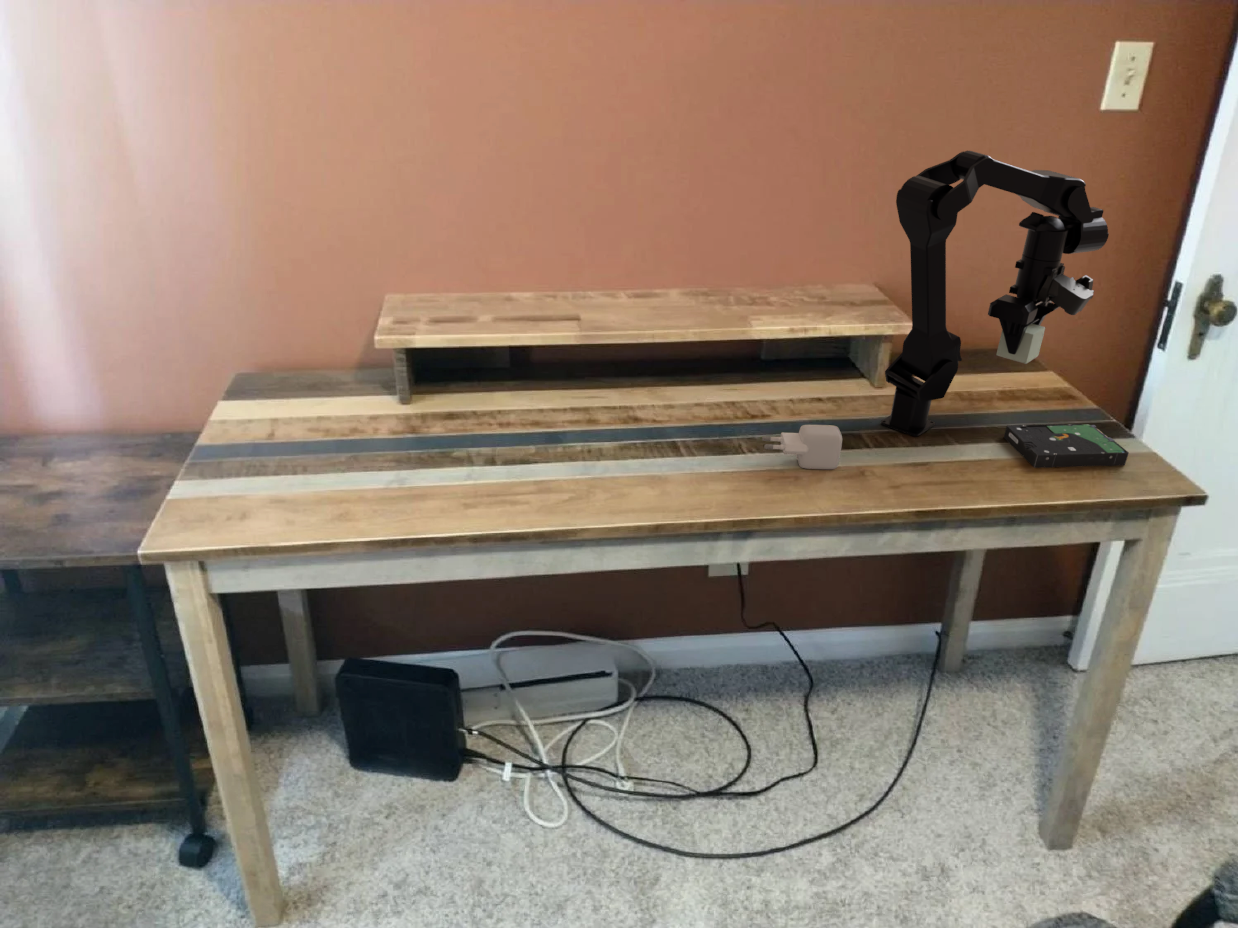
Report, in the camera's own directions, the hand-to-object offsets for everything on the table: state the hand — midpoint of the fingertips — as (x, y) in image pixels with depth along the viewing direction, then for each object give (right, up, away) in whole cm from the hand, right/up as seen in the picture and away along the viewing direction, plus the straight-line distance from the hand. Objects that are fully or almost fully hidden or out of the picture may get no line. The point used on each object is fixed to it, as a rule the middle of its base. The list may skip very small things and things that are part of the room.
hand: (1018, 349), depth 159 cm
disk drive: (+3, -17, -9) cm, 20 cm away
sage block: (0, -1, +1) cm, 1 cm away
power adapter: (-39, -19, -16) cm, 46 cm away
